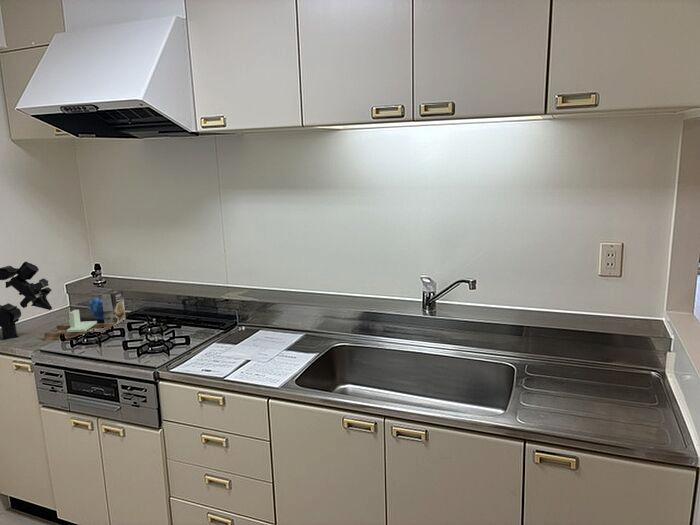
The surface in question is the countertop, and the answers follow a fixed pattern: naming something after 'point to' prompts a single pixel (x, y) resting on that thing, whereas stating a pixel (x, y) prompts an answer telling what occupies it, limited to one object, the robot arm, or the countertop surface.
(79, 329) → the mint green l-shaped block
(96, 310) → the grapes
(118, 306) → the coffee box
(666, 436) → the countertop surface
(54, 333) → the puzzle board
